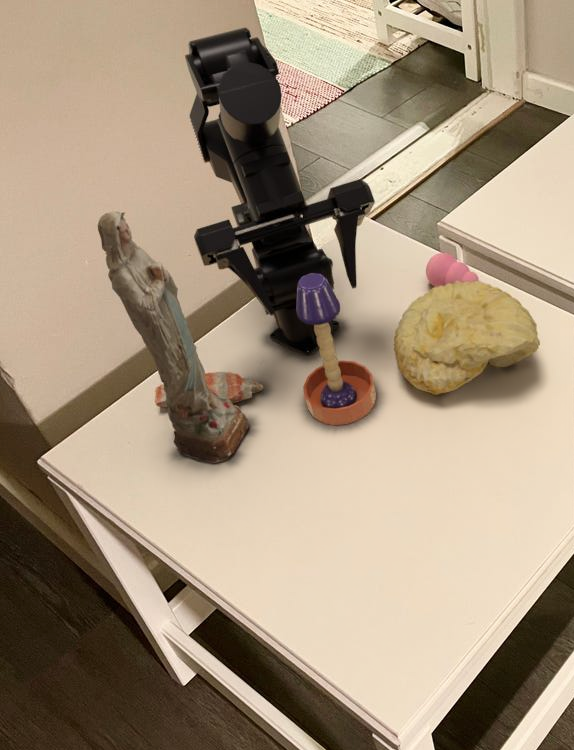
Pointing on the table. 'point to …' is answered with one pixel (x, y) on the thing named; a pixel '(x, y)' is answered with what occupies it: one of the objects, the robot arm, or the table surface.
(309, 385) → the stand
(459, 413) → the table surface
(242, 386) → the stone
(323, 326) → the toy lamp
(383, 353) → the table surface
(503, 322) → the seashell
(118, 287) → the statue
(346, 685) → the table surface
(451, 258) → the dog chew toy
